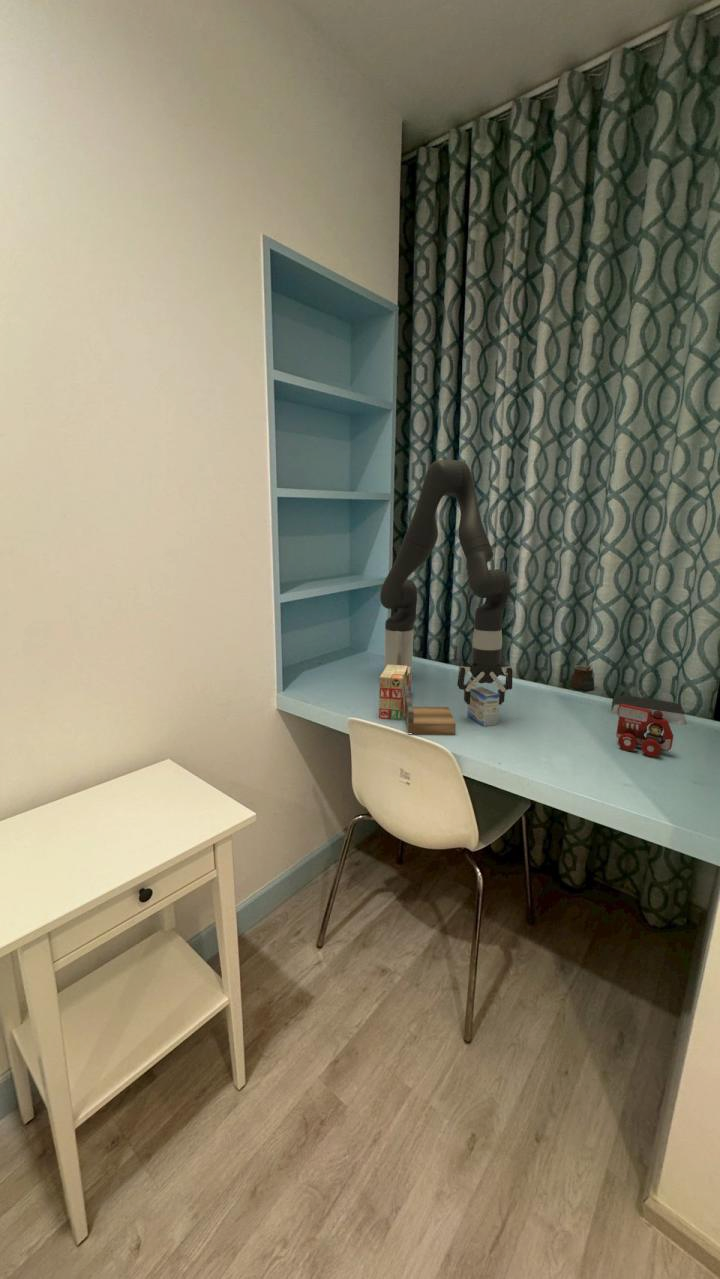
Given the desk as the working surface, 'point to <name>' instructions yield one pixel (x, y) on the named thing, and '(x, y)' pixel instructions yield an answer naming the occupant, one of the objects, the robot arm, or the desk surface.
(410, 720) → the dock
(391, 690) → the stack of blocks
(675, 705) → the grey flat block
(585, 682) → the mate gourd
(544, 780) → the desk surface
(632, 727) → the toy fire truck
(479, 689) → the medicine box
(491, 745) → the desk surface
